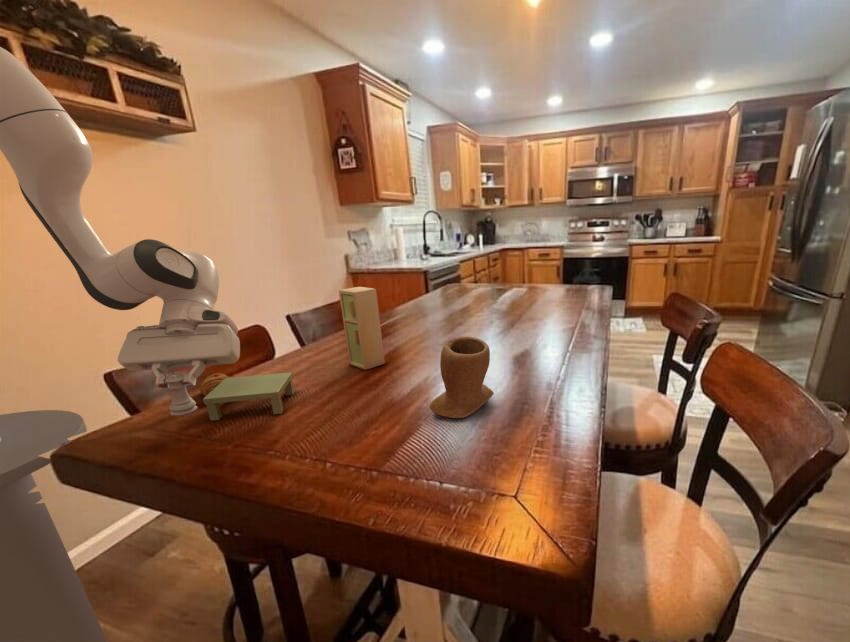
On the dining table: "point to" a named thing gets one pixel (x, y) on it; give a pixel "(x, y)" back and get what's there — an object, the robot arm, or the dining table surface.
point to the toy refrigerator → (362, 327)
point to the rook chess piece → (179, 396)
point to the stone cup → (463, 377)
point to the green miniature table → (250, 391)
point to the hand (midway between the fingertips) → (175, 385)
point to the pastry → (212, 383)
